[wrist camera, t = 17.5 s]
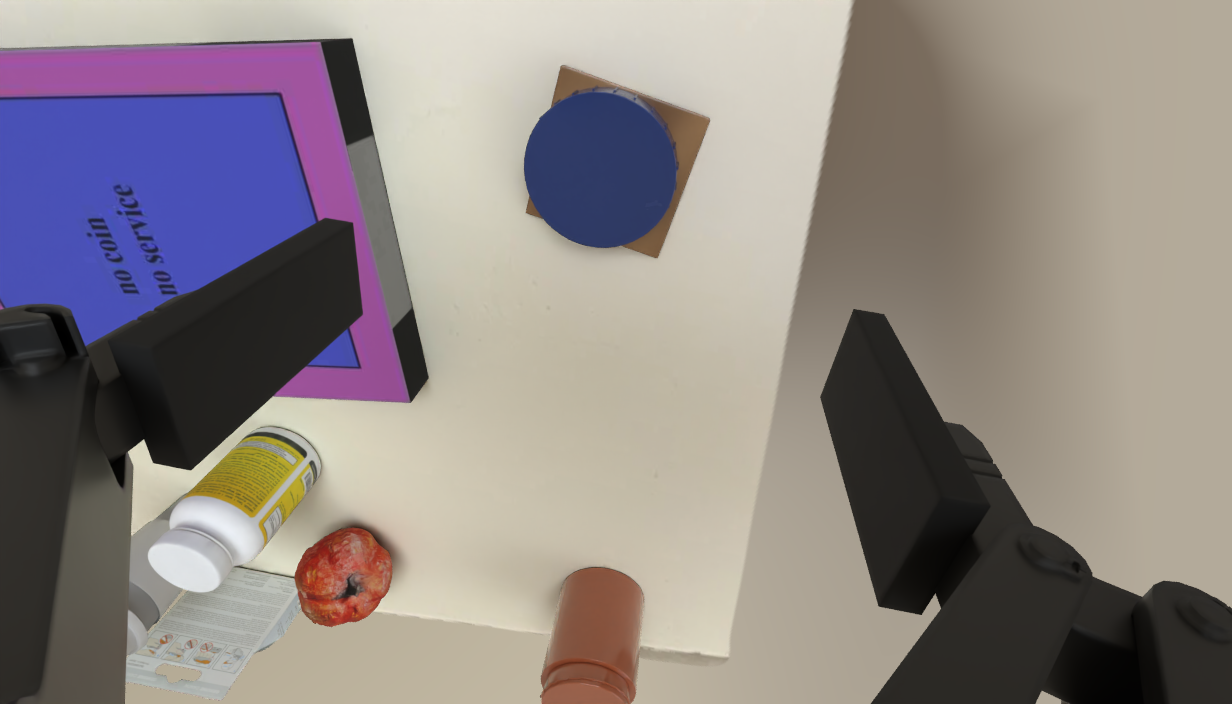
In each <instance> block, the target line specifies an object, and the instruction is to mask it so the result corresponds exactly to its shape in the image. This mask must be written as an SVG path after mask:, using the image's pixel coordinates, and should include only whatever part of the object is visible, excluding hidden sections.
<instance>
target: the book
mask: <svg viewBox="0 0 1232 704" xmlns="http://www.w3.org/2000/svg"><path fill="white" fill-rule="evenodd" d="M324 218H330V219H336V220H342V221H348V222H353V226H354V235H355V244H356V253H357V263H358V272H359V281H360V290H361V299H362V308H363V315H362V316H361V317H360V318H359V319H358V320H357V321H355V322H354V323H353V324H352V325H351V326H350V327H349V328H348V329H347V330H345V331H344V332H343V333H342V334H341V335H340V336H339V337H338V338H337V339H336V340H334V341H333V342H332V343H331V344H330V345H329V346H328V347H327V348H326V349H324V350H323V351H322V352H321V353H320V354H319V355H318V356H317V357H316V358H315V359H313V360H312V361H311V362H310V363H309V364H308V365H307V366H306V367H305V368H303V369H302V370H301V371H300V372H299V373H298V374H297V375H296V376H295V377H294V378H292V379H291V380H290V381H289V382H288V383H287V384H286V385H285V386H284V387H282V388H281V389H280V390H279V391H278V392H277V393H276V394H275V395H274V396H275V397H297V398H318V399H339V400H360V401H381V402H402V403H411V402H412V401H413V399H414V398H415V396H416V395H417V394H418V392H419V391H420V389H421V388H422V387H423V385H424V384H425V382H426V381H427V380H428V373H427V369H426V364H425V360H424V356H423V351H422V347H421V342H420V338H419V333H418V329H417V324H416V320H415V316H414V311H413V307H412V302H411V298H410V293H409V289H408V284H407V280H406V276H405V271H404V267H403V262H402V258H401V253H400V249H399V245H398V240H397V236H396V231H395V227H394V222H393V218H392V213H391V209H390V205H389V200H388V196H387V191H386V187H385V182H384V178H383V173H382V169H381V165H380V160H379V156H378V151H377V147H376V142H375V138H374V134H373V129H372V125H371V120H370V116H369V111H368V107H367V102H366V98H365V94H364V89H363V85H362V80H361V76H360V71H359V67H358V62H357V58H356V54H355V49H354V45H353V40H352V39H318V40H283V41H247V42H212V43H177V44H141V45H106V46H70V47H35V48H0V310H1V309H4V308H9V307H14V306H20V305H26V304H45V303H46V304H55V305H62V306H64V307H66V308H68V309H71V311H72V314H73V316H74V319H75V321H76V324H77V326H78V329H79V331H80V334H81V336H82V339H83V341H84V344H85V346H86V345H88V344H90V343H92V342H94V341H95V340H97V339H99V338H101V337H103V336H104V335H106V334H108V333H110V332H112V331H114V330H115V329H117V328H119V327H121V326H123V325H124V324H126V323H128V322H130V321H132V320H137V317H139V316H141V315H142V314H144V313H146V312H148V311H150V310H151V311H154V308H155V307H157V306H159V305H161V304H162V303H164V302H166V301H168V300H170V299H171V298H173V297H176V296H179V295H182V294H185V293H188V292H192V291H195V290H198V289H200V288H201V287H203V286H205V285H207V284H208V283H210V282H212V281H214V280H216V279H217V278H219V277H221V276H223V275H224V274H226V273H228V272H230V271H232V270H233V269H235V268H237V267H239V266H240V265H242V264H244V263H246V262H247V261H249V260H251V259H253V258H255V257H256V256H258V255H260V254H262V253H263V252H265V251H267V250H269V249H271V248H272V247H274V246H276V245H278V244H279V243H281V242H283V241H285V240H286V239H288V238H290V237H292V236H294V235H295V234H297V233H299V232H301V231H302V230H304V229H306V228H308V227H310V226H311V225H313V224H315V223H317V222H318V221H320V220H322V219H324Z"/></svg>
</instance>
